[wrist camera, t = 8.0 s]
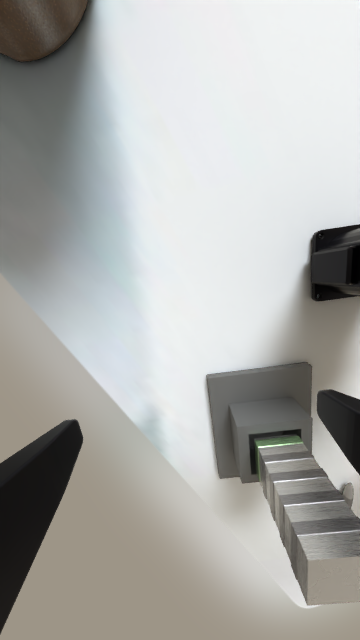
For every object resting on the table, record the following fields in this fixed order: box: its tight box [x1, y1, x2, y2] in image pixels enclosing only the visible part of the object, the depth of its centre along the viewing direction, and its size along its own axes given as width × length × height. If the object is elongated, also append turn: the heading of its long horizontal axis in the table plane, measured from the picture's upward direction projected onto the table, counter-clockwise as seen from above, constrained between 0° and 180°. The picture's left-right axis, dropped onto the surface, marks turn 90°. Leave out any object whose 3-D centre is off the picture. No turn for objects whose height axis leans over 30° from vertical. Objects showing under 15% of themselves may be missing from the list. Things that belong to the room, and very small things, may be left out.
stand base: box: [207, 362, 312, 483], centre depth 20 cm, size 11×14×5 cm
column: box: [254, 434, 360, 605], centre depth 14 cm, size 4×4×8 cm
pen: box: [342, 483, 353, 509], centre depth 25 cm, size 1×14×1 cm, turn 3°
